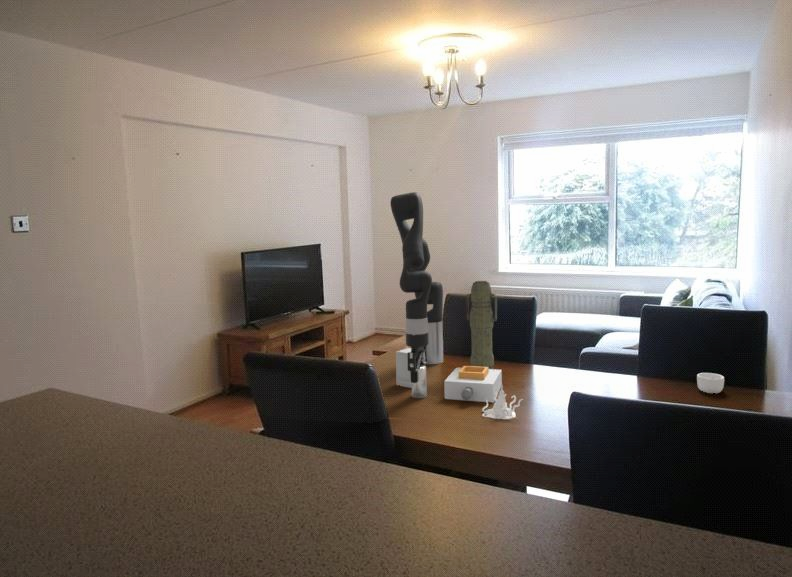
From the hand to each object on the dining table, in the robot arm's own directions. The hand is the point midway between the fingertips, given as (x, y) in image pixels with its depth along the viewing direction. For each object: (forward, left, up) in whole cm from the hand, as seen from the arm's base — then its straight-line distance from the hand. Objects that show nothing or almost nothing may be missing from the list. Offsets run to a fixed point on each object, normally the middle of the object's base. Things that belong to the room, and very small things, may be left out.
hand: (418, 379), depth 184 cm
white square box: (-8, +17, -6) cm, 20 cm away
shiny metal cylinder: (0, 0, -6) cm, 6 cm away
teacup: (-27, +91, -6) cm, 95 cm away
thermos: (-35, +15, -6) cm, 39 cm away
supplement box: (-12, -7, -6) cm, 15 cm away
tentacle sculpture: (+11, +29, -6) cm, 32 cm away
